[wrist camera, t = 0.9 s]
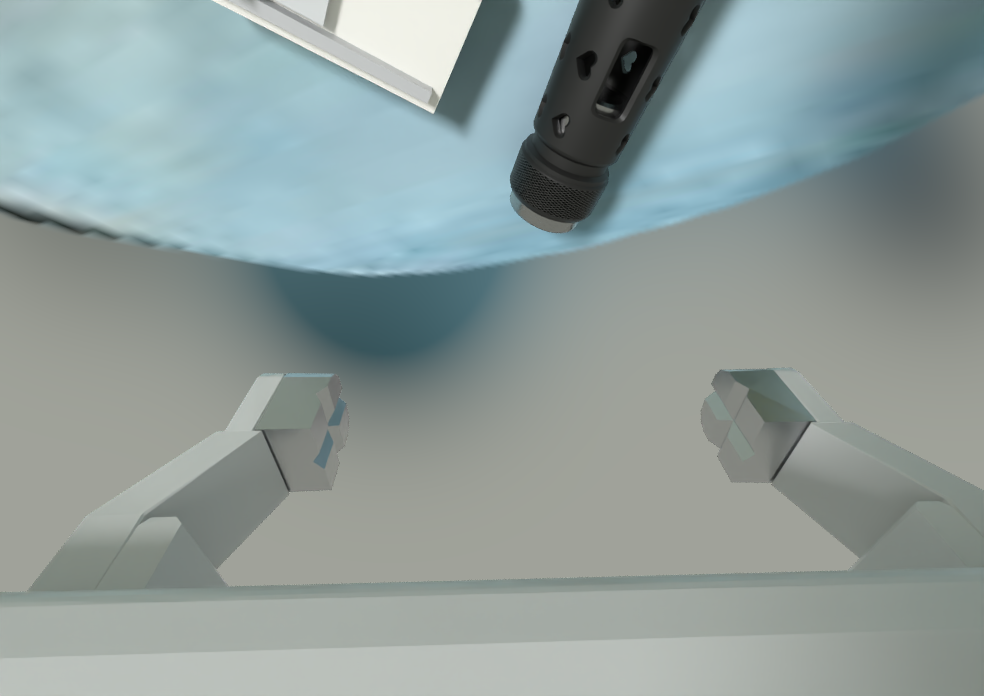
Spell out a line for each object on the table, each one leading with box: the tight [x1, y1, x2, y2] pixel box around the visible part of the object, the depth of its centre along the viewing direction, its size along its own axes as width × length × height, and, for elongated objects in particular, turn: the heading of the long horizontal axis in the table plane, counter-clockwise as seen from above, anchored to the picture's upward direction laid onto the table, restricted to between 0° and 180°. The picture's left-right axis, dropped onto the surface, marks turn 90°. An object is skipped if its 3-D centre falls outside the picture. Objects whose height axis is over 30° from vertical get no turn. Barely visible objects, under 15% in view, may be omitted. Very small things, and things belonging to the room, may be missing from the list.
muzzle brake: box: [510, 0, 705, 233], centre depth 39 cm, size 10×28×10 cm, turn 162°
